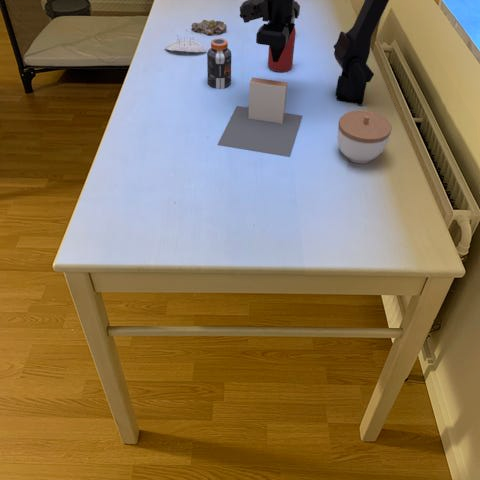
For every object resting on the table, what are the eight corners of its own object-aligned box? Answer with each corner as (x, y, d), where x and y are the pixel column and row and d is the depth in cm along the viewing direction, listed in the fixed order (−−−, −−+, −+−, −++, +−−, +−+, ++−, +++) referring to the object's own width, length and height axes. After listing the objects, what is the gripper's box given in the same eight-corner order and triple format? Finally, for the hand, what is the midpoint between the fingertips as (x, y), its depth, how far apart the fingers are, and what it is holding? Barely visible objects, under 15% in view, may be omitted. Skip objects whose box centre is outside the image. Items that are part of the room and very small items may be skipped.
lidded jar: (343, 172, 105) (351, 133, 99) (326, 143, 113) (333, 105, 106) (391, 167, 107) (402, 128, 100) (372, 138, 114) (381, 101, 108)
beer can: (292, 62, 140) (296, 18, 131) (291, 73, 135) (296, 28, 127) (268, 60, 140) (271, 16, 132) (266, 72, 135) (269, 26, 127)
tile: (284, 118, 119) (287, 82, 112) (282, 123, 117) (285, 87, 110) (250, 113, 120) (252, 77, 113) (248, 118, 118) (249, 82, 112)
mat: (302, 117, 120) (302, 115, 119) (289, 158, 108) (290, 156, 108) (236, 107, 122) (236, 105, 122) (217, 146, 111) (217, 144, 110)
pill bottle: (228, 92, 128) (228, 48, 120) (205, 89, 128) (204, 45, 120) (233, 80, 132) (233, 37, 124) (210, 78, 132) (210, 34, 124)
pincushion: (162, 55, 142) (160, 35, 138) (166, 45, 146) (165, 25, 142) (205, 58, 141) (204, 37, 137) (208, 48, 145) (207, 28, 141)
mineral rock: (227, 17, 155) (226, 20, 148) (227, 33, 157) (226, 36, 150) (192, 18, 156) (189, 21, 149) (193, 33, 158) (190, 37, 151)
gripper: (254, -31, 113) (251, 38, 124) (232, -1, 100) (231, 73, 111) (303, -26, 111) (296, 44, 122) (288, 5, 98) (281, 80, 110)
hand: (276, 59), depth 116 cm, fingers closed
